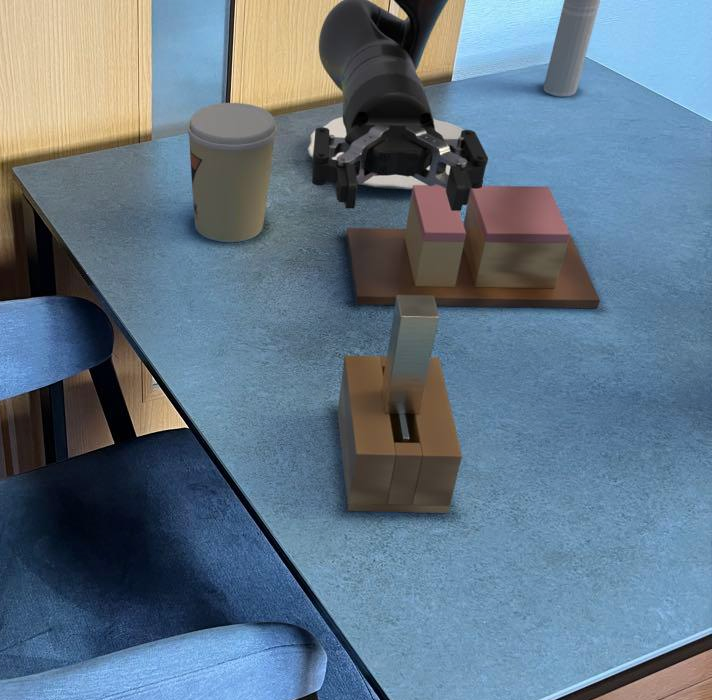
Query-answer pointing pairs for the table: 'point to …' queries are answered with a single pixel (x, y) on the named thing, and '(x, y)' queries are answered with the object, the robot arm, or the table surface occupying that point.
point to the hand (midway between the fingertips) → (405, 199)
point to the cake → (484, 257)
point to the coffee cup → (230, 169)
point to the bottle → (570, 46)
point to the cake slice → (433, 237)
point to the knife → (408, 359)
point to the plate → (390, 181)
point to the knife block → (396, 444)
